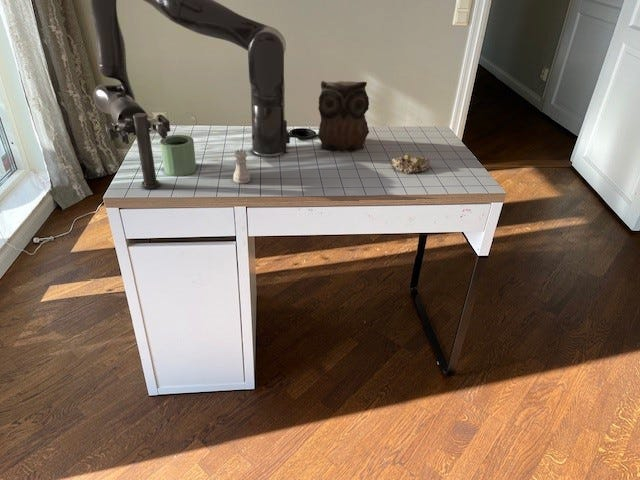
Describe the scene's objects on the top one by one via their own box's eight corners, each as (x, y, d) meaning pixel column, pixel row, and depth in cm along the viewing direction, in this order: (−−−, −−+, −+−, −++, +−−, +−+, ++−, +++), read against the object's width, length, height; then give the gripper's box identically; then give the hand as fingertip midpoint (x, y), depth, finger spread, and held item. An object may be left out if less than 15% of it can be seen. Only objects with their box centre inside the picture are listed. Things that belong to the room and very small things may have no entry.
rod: (158, 181, 123) (148, 111, 113) (160, 188, 120) (149, 117, 110) (141, 183, 122) (130, 112, 112) (143, 190, 119) (131, 118, 109)
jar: (193, 161, 134) (190, 133, 130) (198, 173, 128) (195, 145, 124) (162, 164, 132) (158, 136, 127) (166, 177, 125) (162, 148, 121)
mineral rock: (397, 167, 132) (391, 148, 137) (393, 179, 135) (388, 160, 140) (435, 168, 133) (428, 149, 138) (430, 180, 136) (424, 161, 142)
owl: (368, 148, 148) (376, 81, 137) (339, 158, 141) (345, 88, 130) (339, 136, 156) (343, 71, 145) (310, 145, 148) (312, 78, 137)
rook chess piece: (247, 185, 124) (246, 155, 119) (230, 183, 124) (228, 153, 120) (252, 178, 127) (252, 149, 123) (236, 175, 128) (235, 147, 124)
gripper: (95, 104, 119) (110, 125, 107) (155, 97, 125) (174, 117, 114) (102, 134, 123) (116, 157, 111) (159, 126, 129) (178, 147, 118)
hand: (145, 137), depth 112 cm, fingers open, 8 cm apart
